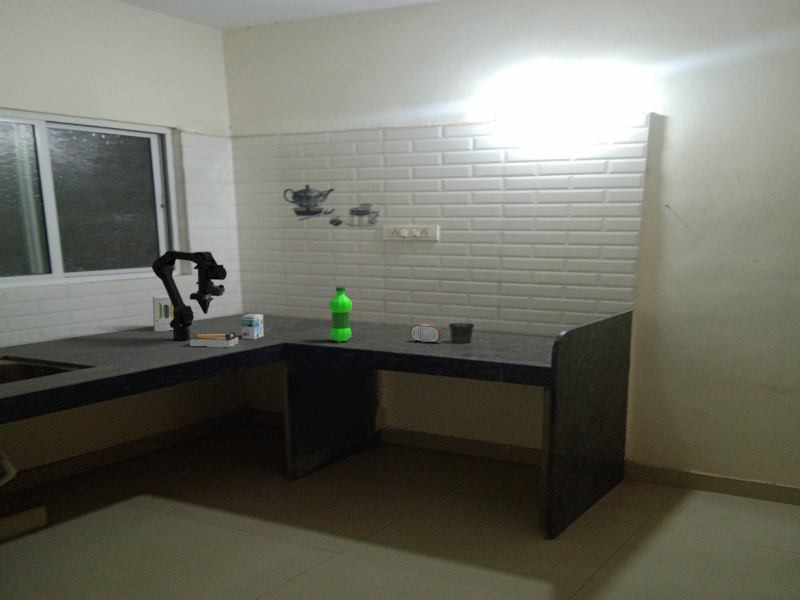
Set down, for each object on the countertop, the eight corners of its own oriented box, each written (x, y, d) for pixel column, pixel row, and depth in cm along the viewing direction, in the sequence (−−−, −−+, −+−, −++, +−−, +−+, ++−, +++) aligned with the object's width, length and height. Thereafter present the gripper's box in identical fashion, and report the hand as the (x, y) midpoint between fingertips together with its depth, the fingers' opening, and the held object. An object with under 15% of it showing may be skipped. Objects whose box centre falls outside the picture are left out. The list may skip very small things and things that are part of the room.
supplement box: (154, 331, 319) (153, 297, 317) (153, 328, 331) (152, 295, 329) (182, 330, 324) (181, 296, 322) (180, 326, 336) (179, 294, 334)
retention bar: (195, 338, 279) (195, 335, 279) (198, 337, 283) (198, 334, 282) (230, 337, 277) (230, 334, 277) (233, 336, 280) (232, 333, 280)
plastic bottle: (356, 341, 292) (356, 287, 289) (339, 344, 284) (339, 288, 281) (341, 338, 298) (341, 285, 296) (324, 341, 291) (324, 287, 288)
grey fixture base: (190, 346, 277) (189, 334, 276) (200, 342, 286) (199, 330, 286) (229, 347, 274) (229, 335, 274) (238, 343, 284) (238, 331, 284)
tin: (442, 343, 287) (442, 324, 286) (440, 344, 284) (440, 325, 284) (412, 340, 294) (412, 322, 293) (409, 341, 291) (409, 323, 290)
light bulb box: (254, 339, 296) (254, 316, 295) (241, 339, 297) (240, 316, 296) (264, 336, 306) (263, 313, 305) (251, 335, 308) (250, 313, 307)
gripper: (212, 281, 275) (213, 316, 277) (229, 278, 293) (230, 311, 295) (188, 280, 276) (189, 316, 278) (207, 277, 295) (208, 311, 296)
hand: (205, 313), depth 287 cm, fingers closed
